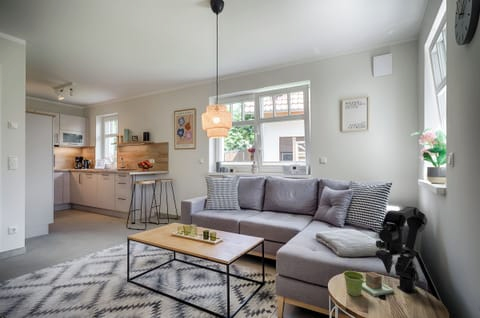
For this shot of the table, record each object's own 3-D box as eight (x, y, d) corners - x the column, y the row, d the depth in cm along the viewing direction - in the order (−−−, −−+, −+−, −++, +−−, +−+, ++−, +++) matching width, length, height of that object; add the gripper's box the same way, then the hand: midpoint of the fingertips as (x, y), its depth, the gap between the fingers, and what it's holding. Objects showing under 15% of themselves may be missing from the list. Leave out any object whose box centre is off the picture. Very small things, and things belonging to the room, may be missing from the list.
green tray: (373, 280, 130) (373, 278, 130) (393, 292, 118) (393, 289, 118) (354, 284, 126) (354, 281, 126) (373, 296, 115) (373, 293, 115)
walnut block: (373, 283, 125) (373, 271, 126) (381, 288, 121) (381, 276, 121) (365, 284, 124) (365, 273, 124) (373, 289, 119) (373, 277, 119)
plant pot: (367, 299, 112) (367, 280, 112) (345, 297, 114) (345, 278, 114) (361, 289, 121) (361, 271, 121) (341, 287, 123) (341, 270, 123)
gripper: (395, 232, 124) (395, 262, 124) (366, 235, 119) (366, 267, 119) (417, 238, 114) (417, 272, 114) (385, 242, 108) (386, 277, 108)
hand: (395, 271), depth 114 cm, fingers open, 9 cm apart
